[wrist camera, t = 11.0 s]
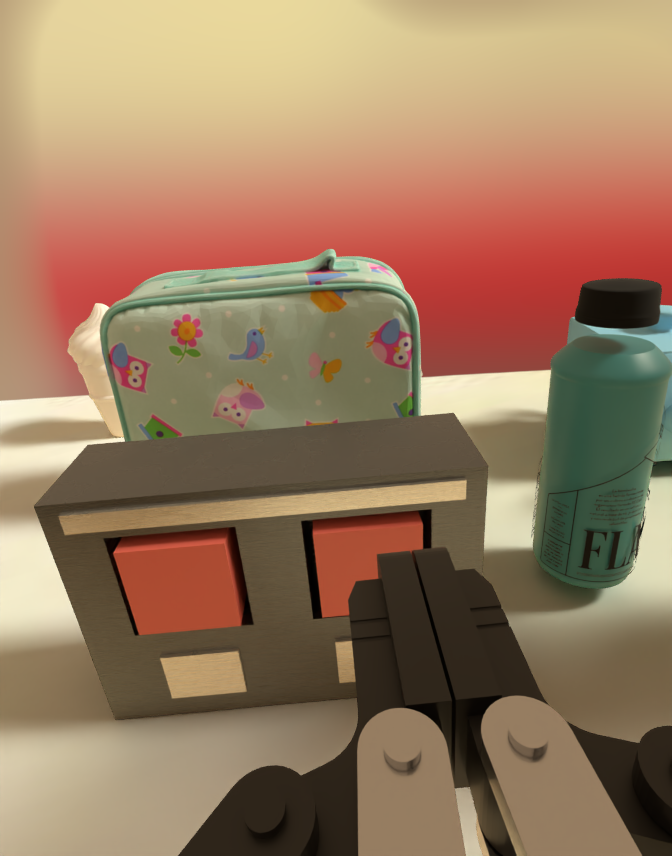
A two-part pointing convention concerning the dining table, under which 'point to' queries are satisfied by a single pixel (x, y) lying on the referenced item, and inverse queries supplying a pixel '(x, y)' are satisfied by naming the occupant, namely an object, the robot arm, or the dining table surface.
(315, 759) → the dining table surface
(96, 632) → the dark grey switch housing
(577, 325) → the teapot
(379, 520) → the rocker outlet
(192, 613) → the rocker outlet
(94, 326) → the soft serve ice cream cone
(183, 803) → the dining table surface
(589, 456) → the beverage bottle
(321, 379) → the lunch box
